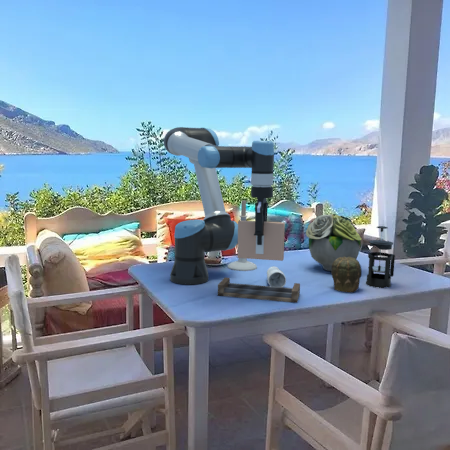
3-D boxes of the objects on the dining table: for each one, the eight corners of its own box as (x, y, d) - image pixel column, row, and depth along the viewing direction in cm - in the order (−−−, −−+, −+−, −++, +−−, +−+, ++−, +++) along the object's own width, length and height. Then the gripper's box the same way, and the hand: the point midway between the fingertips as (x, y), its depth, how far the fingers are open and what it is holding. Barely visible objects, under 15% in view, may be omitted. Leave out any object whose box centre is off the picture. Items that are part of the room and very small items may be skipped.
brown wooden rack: (217, 295, 170) (217, 284, 170) (224, 287, 180) (224, 277, 179) (297, 302, 164) (297, 291, 163) (299, 294, 173) (300, 283, 173)
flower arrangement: (292, 268, 211) (294, 213, 207) (327, 260, 227) (329, 209, 224) (340, 280, 193) (343, 220, 189) (374, 270, 209) (377, 215, 205)
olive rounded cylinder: (355, 284, 187) (356, 254, 185) (364, 293, 176) (366, 261, 174) (327, 284, 186) (328, 254, 184) (334, 293, 176) (336, 261, 174)
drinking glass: (278, 283, 193) (282, 291, 178) (262, 278, 193) (265, 286, 178) (284, 267, 192) (288, 274, 177) (268, 262, 192) (271, 269, 177)
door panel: (237, 257, 170) (238, 221, 168) (239, 256, 173) (239, 220, 171) (282, 260, 166) (283, 223, 164) (283, 258, 169) (284, 222, 167)
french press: (374, 289, 181) (378, 229, 178) (359, 282, 190) (362, 225, 186) (399, 286, 185) (404, 227, 182) (383, 280, 194) (387, 223, 190)
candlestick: (256, 264, 218) (257, 198, 213) (257, 271, 205) (259, 201, 200) (228, 263, 218) (229, 197, 213) (227, 270, 205) (228, 200, 201)
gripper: (269, 187, 157) (267, 258, 161) (276, 184, 172) (274, 248, 176) (246, 187, 159) (245, 256, 162) (255, 184, 174) (254, 247, 178)
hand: (260, 252), depth 169 cm, fingers closed on door panel, 3 cm apart
